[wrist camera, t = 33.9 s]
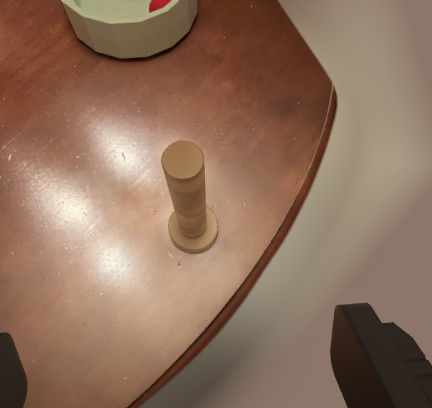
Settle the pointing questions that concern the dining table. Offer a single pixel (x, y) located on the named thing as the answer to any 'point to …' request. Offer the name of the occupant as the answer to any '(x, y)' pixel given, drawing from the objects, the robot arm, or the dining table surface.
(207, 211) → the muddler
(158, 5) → the red ball
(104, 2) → the bowl
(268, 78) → the dining table surface
